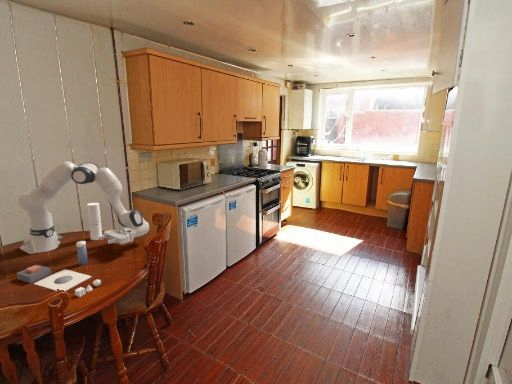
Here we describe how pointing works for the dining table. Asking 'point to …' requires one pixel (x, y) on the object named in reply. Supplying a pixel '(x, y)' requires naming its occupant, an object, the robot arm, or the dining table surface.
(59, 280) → the paper sheet
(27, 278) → the button housing
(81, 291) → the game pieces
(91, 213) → the cylindrical container
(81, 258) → the blue and white cylinder
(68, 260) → the dining table surface
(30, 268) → the button
